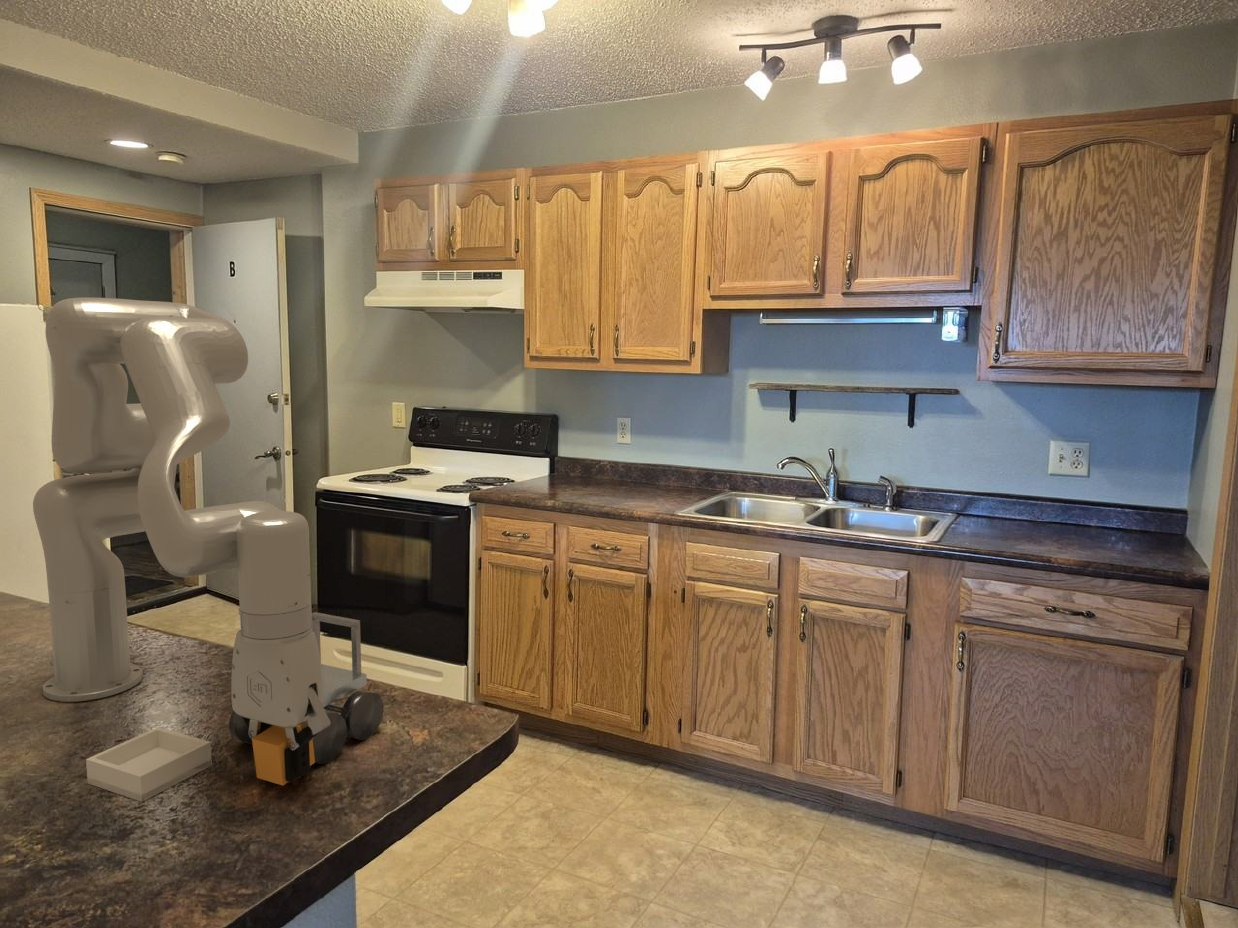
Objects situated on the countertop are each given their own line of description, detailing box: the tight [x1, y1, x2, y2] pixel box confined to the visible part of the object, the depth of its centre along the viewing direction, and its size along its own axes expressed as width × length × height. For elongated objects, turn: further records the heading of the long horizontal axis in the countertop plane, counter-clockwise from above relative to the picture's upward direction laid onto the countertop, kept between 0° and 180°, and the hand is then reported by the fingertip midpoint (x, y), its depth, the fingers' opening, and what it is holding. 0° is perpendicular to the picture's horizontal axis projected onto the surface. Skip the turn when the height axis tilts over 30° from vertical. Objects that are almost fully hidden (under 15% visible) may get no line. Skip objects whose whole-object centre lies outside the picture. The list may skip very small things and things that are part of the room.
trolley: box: [228, 611, 384, 765], centre depth 107 cm, size 14×13×15 cm
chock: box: [252, 724, 316, 787], centre depth 97 cm, size 4×5×5 cm
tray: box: [85, 726, 213, 803], centre depth 99 cm, size 9×9×3 cm
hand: (282, 770), depth 97 cm, fingers closed on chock, 4 cm apart
